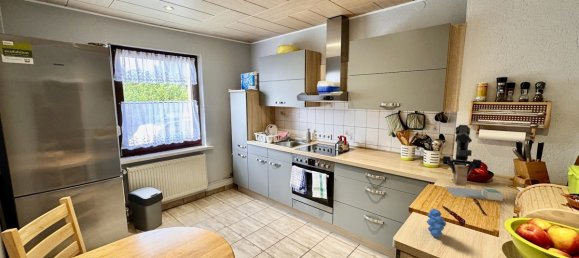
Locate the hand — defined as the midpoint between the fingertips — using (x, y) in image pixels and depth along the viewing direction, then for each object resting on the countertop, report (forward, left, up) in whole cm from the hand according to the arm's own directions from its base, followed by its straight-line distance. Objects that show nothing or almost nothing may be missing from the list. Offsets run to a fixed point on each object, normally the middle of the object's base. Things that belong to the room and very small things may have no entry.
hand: (460, 174), depth 139 cm
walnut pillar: (-1, 0, -6) cm, 7 cm away
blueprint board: (-7, +9, -13) cm, 18 cm away
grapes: (+51, -25, -14) cm, 58 cm away
